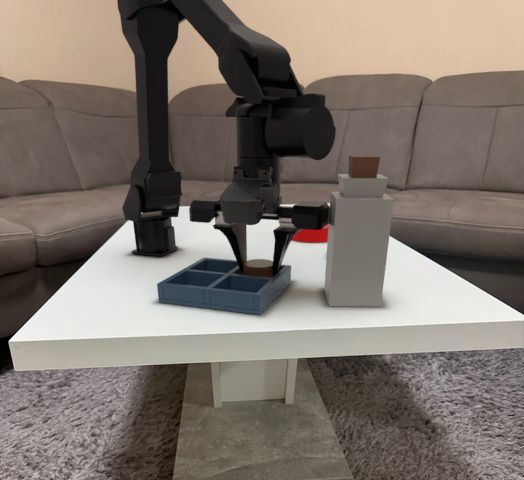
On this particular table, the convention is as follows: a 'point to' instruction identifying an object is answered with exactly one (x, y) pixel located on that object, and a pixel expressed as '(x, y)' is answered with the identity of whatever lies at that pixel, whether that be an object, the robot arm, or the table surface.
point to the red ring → (312, 235)
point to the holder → (222, 287)
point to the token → (258, 268)
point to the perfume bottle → (358, 235)
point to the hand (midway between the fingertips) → (259, 273)
